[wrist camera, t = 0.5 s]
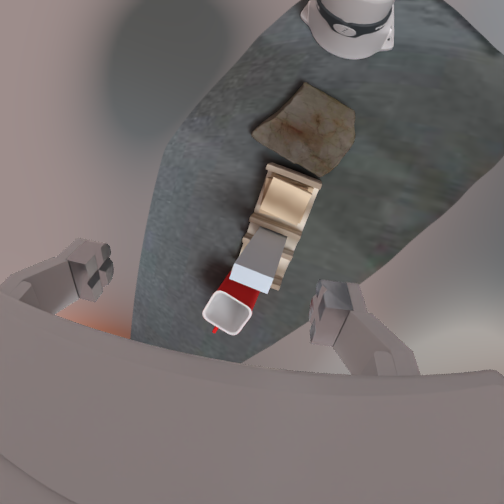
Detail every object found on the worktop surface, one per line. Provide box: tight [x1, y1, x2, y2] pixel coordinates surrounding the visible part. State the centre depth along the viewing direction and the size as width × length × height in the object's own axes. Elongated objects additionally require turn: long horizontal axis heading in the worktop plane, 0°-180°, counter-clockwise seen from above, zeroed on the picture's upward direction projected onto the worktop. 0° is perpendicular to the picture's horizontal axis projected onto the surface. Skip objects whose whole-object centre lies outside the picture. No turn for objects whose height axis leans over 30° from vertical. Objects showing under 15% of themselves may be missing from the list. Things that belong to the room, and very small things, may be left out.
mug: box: [203, 271, 260, 335], centre depth 60 cm, size 12×8×11 cm
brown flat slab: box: [251, 82, 355, 177], centre depth 47 cm, size 17×15×4 cm
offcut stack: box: [259, 172, 314, 226], centre depth 50 cm, size 7×8×6 cm
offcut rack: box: [231, 162, 322, 290], centre depth 54 cm, size 22×10×6 cm, turn 162°
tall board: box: [229, 226, 288, 294], centre depth 47 cm, size 2×6×20 cm, turn 72°
